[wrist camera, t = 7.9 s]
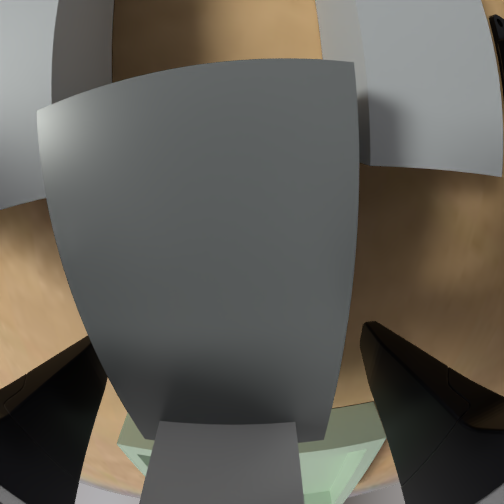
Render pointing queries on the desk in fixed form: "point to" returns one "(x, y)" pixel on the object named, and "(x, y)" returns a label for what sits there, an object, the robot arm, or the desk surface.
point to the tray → (307, 452)
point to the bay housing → (333, 48)
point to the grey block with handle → (213, 260)
